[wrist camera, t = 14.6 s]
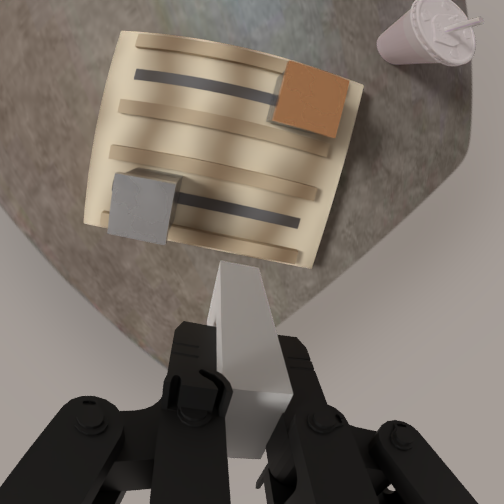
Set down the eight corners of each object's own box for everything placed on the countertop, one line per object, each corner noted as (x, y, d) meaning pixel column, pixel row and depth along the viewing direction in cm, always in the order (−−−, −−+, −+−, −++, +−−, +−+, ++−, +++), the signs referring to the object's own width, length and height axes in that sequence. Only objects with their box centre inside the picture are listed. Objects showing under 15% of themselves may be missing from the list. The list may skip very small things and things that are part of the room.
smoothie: (352, 40, 25) (434, -6, 12) (388, 11, 23) (472, -33, 10) (394, 88, 27) (492, 76, 14) (427, 57, 25) (521, 38, 12)
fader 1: (128, 213, 27) (107, 233, 21) (136, 164, 25) (114, 173, 20) (176, 223, 28) (165, 245, 22) (185, 173, 26) (175, 184, 21)
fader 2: (262, 122, 25) (273, 120, 20) (275, 74, 24) (289, 60, 18) (312, 136, 26) (335, 138, 20) (324, 90, 24) (349, 80, 19)
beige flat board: (91, 217, 29) (80, 225, 26) (127, 36, 23) (118, 28, 20) (306, 260, 32) (313, 272, 30) (355, 87, 26) (367, 84, 24)
